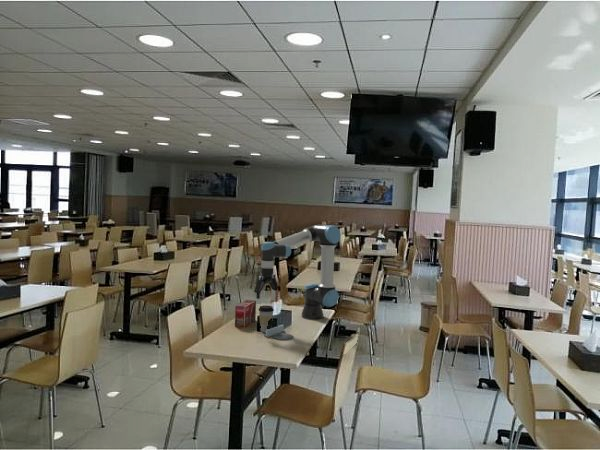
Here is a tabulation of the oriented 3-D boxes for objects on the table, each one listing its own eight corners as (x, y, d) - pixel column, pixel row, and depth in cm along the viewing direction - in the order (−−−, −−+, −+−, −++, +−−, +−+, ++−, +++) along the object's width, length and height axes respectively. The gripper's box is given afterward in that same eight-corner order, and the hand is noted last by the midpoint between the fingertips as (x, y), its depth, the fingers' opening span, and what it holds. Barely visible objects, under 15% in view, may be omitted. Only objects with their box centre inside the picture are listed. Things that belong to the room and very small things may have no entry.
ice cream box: (244, 328, 292) (245, 306, 292) (234, 327, 294) (235, 305, 293) (255, 320, 312) (256, 300, 311) (246, 319, 313) (247, 299, 313)
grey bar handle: (280, 330, 288) (281, 324, 288) (284, 331, 286) (285, 325, 286) (264, 336, 275) (264, 329, 275) (268, 337, 273) (268, 330, 273)
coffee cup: (269, 334, 280) (270, 309, 279) (255, 332, 283) (255, 307, 282) (275, 330, 289) (276, 306, 288) (261, 328, 292) (262, 304, 291)
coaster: (281, 333, 283) (281, 332, 283) (297, 337, 276) (297, 336, 276) (268, 337, 273) (268, 336, 273) (285, 341, 266) (285, 340, 266)
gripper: (275, 265, 297) (273, 298, 297) (249, 268, 276) (247, 304, 277) (284, 266, 292) (283, 300, 293) (258, 270, 272) (257, 306, 273)
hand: (266, 302), depth 285 cm, fingers open, 13 cm apart
